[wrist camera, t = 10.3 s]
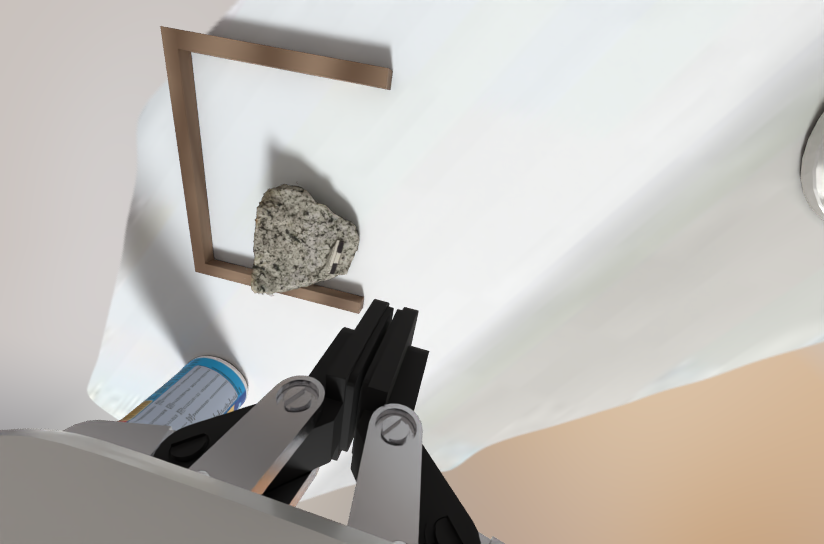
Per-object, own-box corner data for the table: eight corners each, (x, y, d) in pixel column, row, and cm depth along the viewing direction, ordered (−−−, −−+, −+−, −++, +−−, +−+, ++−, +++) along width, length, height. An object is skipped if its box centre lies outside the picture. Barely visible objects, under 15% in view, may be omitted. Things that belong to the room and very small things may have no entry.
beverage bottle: (247, 360, 38) (41, 571, 20) (254, 410, 41) (87, 627, 24) (183, 346, 39) (-67, 535, 21) (196, 396, 42) (-8, 594, 25)
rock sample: (364, 313, 27) (252, 309, 22) (328, 299, 33) (233, 293, 28) (382, 193, 27) (274, 159, 22) (342, 200, 33) (250, 175, 28)
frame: (392, 70, 23) (388, 68, 22) (362, 307, 32) (358, 313, 31) (174, 30, 24) (160, 26, 23) (204, 266, 33) (195, 271, 32)
